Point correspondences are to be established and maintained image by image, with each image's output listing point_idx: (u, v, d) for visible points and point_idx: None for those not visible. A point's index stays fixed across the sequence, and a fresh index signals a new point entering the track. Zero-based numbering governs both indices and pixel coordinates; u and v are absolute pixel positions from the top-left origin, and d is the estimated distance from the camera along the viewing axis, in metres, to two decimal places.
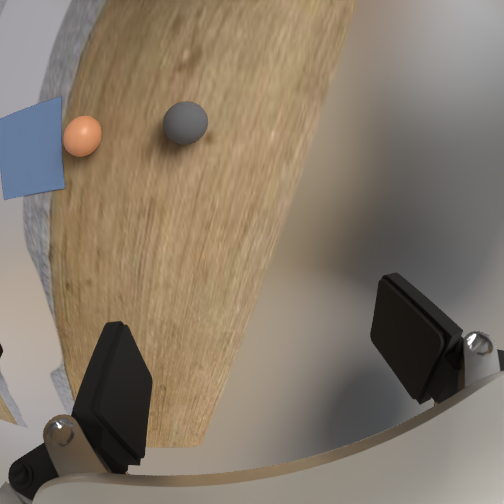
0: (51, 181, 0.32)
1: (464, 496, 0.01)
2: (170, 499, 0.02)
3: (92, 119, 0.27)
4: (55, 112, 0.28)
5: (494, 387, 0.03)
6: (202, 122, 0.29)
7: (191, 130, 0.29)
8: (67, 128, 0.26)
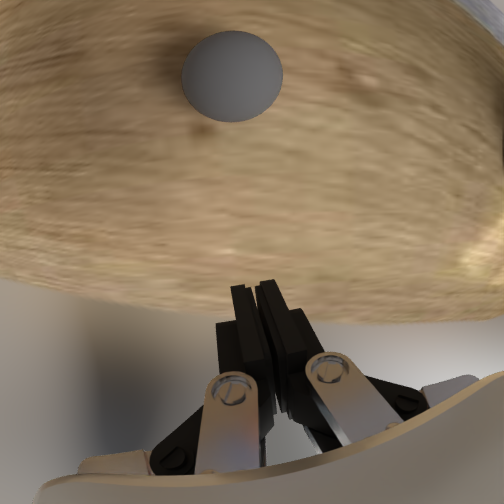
0: None
1: (464, 496, 0.01)
2: (170, 499, 0.02)
3: None
4: None
5: (494, 387, 0.03)
6: (234, 108, 0.12)
7: (214, 83, 0.11)
8: None
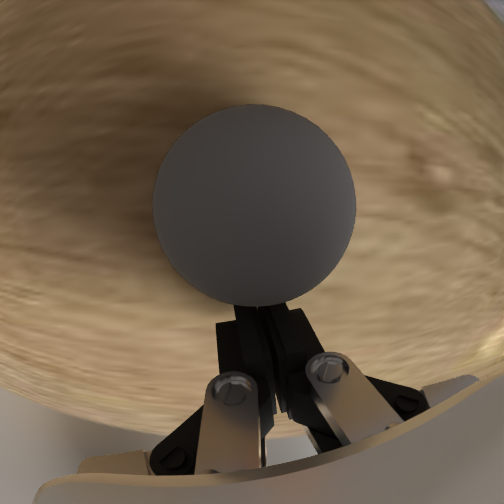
0: None
1: (464, 496, 0.01)
2: (170, 500, 0.02)
3: None
4: None
5: (494, 387, 0.03)
6: (262, 305, 0.07)
7: (225, 278, 0.06)
8: None
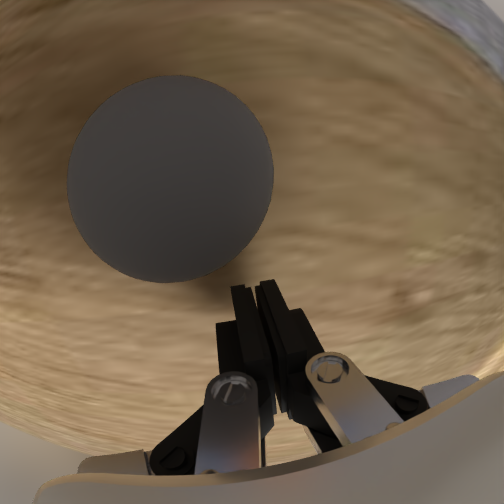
0: None
1: (464, 496, 0.01)
2: (170, 499, 0.02)
3: None
4: None
5: (494, 387, 0.03)
6: None
7: None
8: None
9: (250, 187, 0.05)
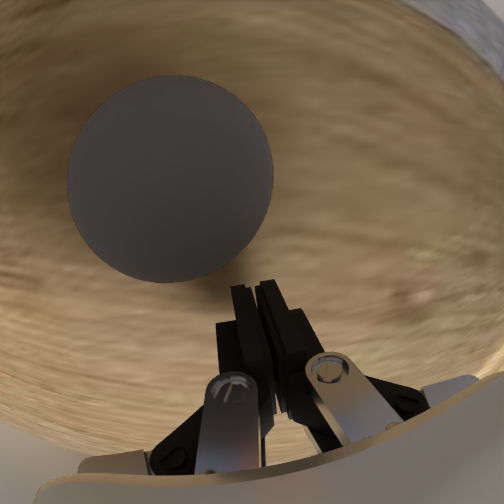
0: None
1: (464, 496, 0.01)
2: (170, 499, 0.02)
3: None
4: None
5: (494, 387, 0.03)
6: None
7: None
8: None
9: (249, 187, 0.05)
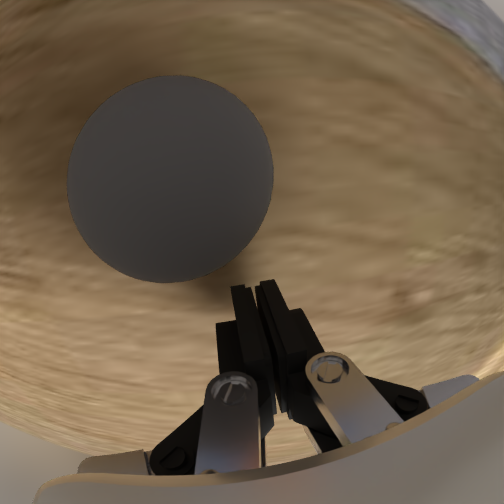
0: None
1: (464, 496, 0.01)
2: (170, 499, 0.02)
3: None
4: None
5: (494, 387, 0.03)
6: None
7: None
8: None
9: (249, 187, 0.05)
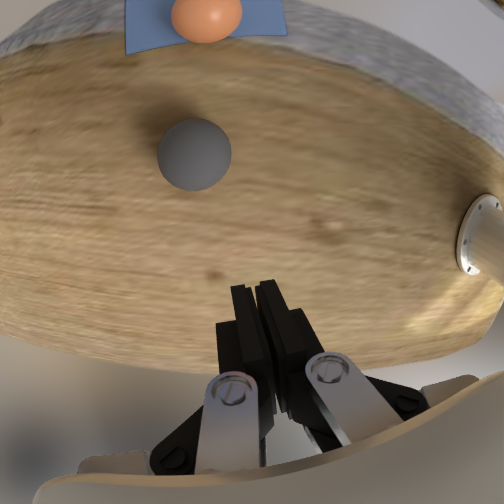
0: (139, 29, 0.16)
1: (464, 496, 0.01)
2: (170, 500, 0.02)
3: None
4: (260, 26, 0.18)
5: (494, 387, 0.03)
6: None
7: None
8: None
9: (220, 155, 0.18)
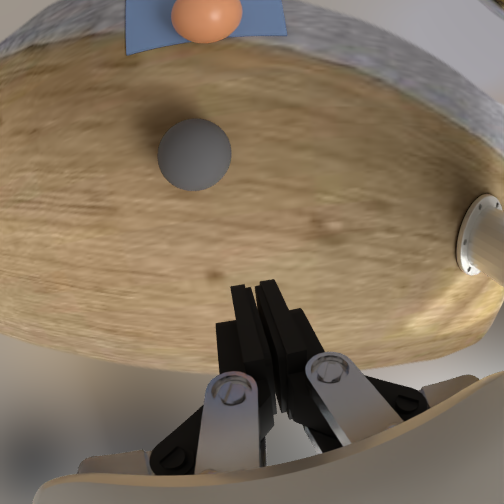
0: (140, 29, 0.16)
1: (464, 496, 0.01)
2: (170, 499, 0.02)
3: None
4: (260, 26, 0.18)
5: (494, 387, 0.03)
6: None
7: None
8: None
9: (220, 155, 0.18)
